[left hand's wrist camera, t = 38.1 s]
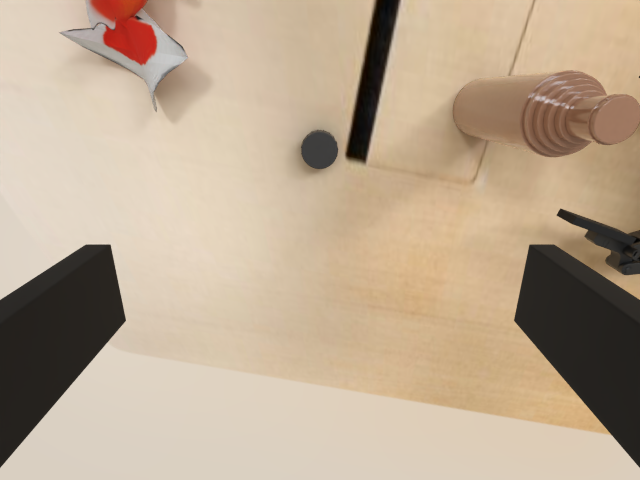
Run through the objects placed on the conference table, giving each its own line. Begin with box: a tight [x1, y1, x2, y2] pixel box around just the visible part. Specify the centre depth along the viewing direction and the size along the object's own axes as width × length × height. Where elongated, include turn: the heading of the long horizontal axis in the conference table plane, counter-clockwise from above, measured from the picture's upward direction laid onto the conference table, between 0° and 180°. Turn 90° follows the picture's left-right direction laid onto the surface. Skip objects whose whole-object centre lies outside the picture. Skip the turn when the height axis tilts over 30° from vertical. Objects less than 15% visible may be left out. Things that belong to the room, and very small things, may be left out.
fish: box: [59, 0, 188, 112], centre depth 36 cm, size 11×16×10 cm
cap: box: [301, 130, 338, 169], centre depth 43 cm, size 4×4×2 cm
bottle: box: [453, 70, 640, 157], centre depth 33 cm, size 6×6×21 cm
